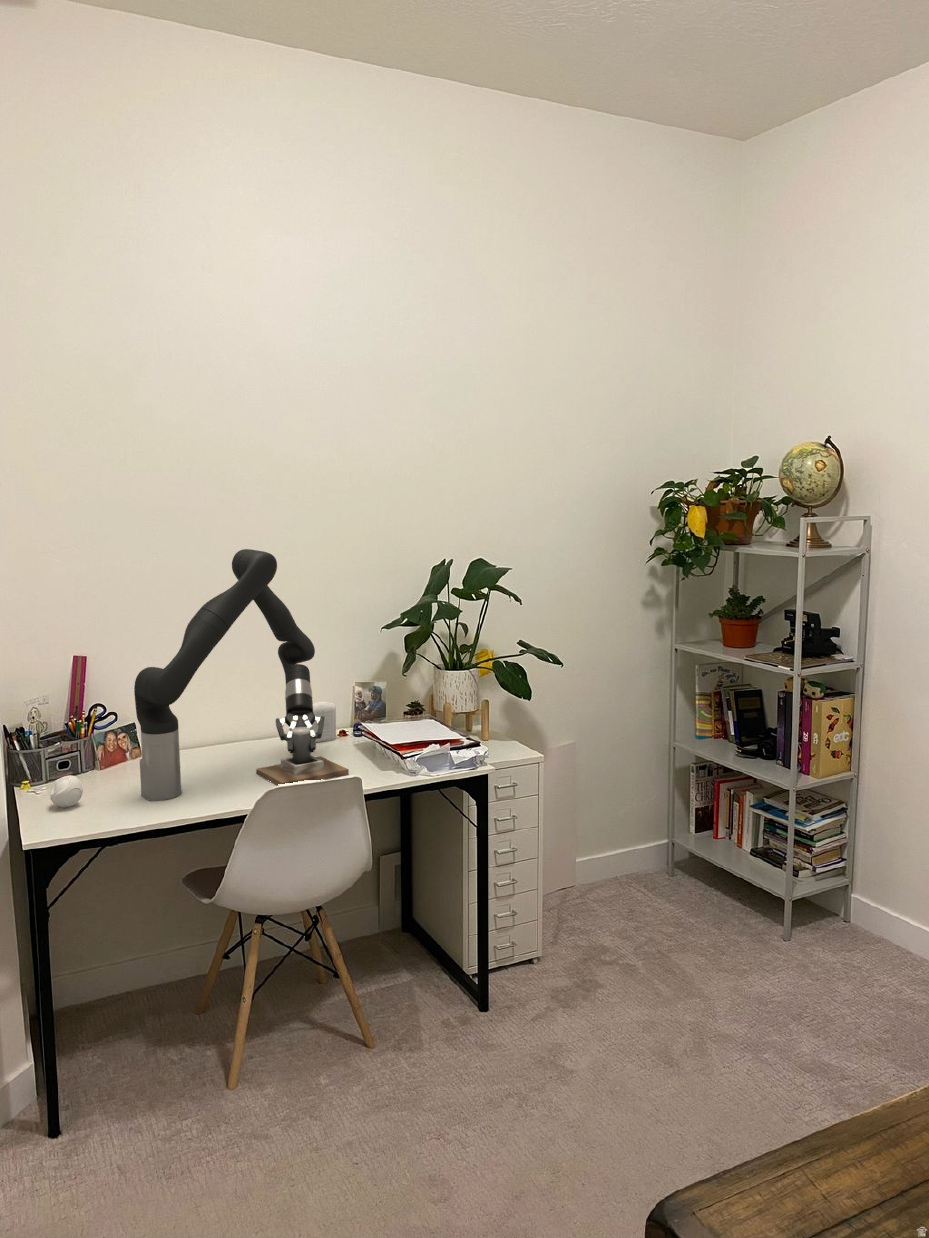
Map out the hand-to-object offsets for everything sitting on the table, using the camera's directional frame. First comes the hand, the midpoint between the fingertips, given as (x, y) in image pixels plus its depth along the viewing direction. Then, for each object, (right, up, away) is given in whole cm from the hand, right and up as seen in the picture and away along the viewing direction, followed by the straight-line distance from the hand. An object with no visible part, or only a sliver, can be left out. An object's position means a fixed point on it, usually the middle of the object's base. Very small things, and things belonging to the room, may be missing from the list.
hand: (302, 751), depth 262 cm
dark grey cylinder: (0, -4, +2) cm, 5 cm away
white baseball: (-55, -11, -23) cm, 60 cm away
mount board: (0, -7, +3) cm, 7 cm away
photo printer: (-1, -2, +37) cm, 37 cm away
